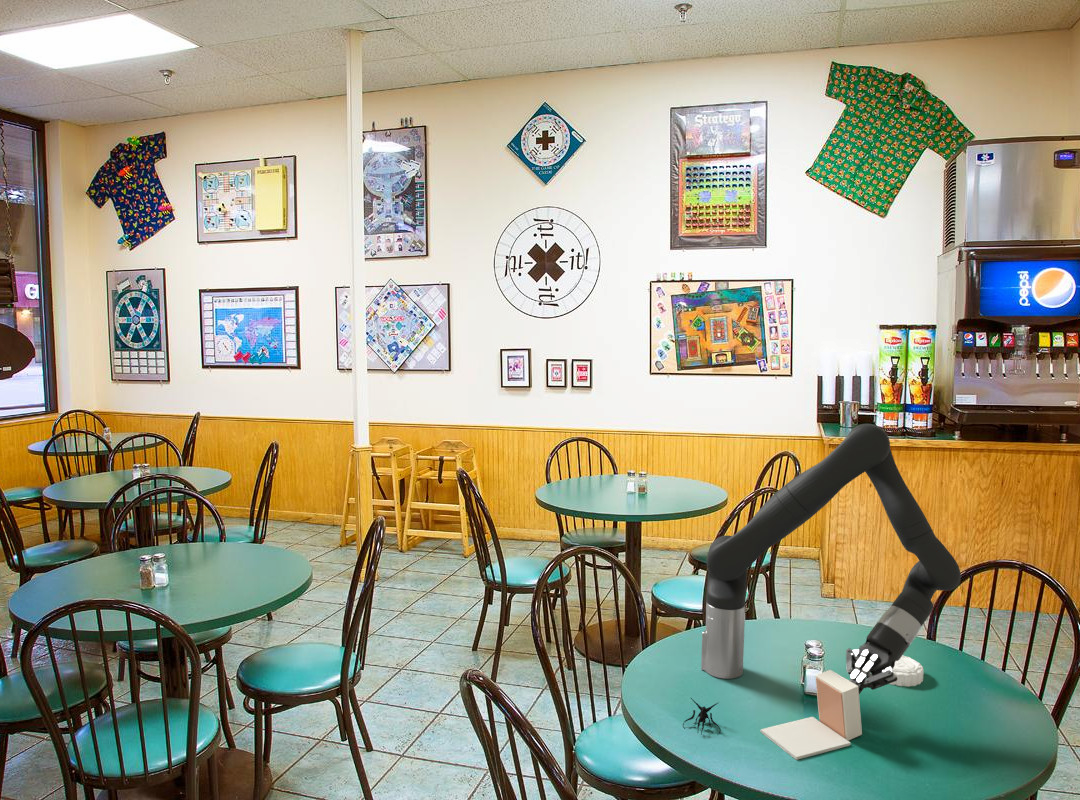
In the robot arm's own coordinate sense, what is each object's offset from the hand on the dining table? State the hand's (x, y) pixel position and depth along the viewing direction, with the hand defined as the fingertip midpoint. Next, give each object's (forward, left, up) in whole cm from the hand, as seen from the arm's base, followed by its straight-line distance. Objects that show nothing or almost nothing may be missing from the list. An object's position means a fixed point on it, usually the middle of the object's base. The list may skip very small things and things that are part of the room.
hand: (847, 697), depth 164 cm
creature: (-24, -19, -7) cm, 31 cm away
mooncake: (+2, +33, -7) cm, 34 cm away
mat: (-5, -9, -7) cm, 13 cm away
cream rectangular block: (-1, -1, -7) cm, 7 cm away
